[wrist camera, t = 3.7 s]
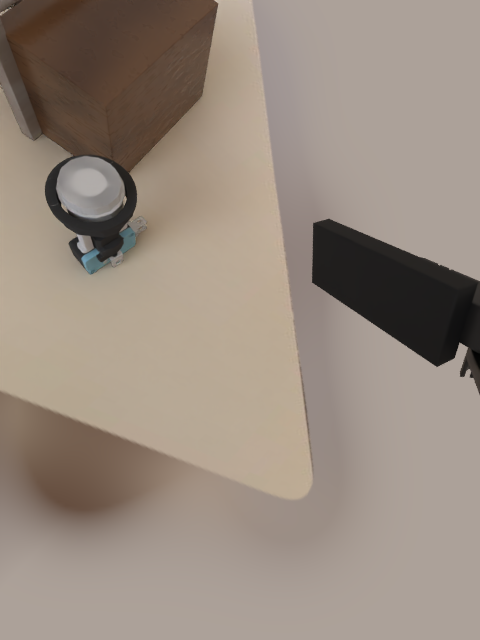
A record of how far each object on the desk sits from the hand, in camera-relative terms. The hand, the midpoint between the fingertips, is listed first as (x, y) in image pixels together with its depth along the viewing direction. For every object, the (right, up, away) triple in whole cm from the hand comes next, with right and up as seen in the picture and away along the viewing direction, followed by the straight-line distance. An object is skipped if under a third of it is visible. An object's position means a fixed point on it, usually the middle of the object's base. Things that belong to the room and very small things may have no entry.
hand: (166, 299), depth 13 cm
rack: (-8, +19, +21) cm, 30 cm away
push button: (-8, +5, +18) cm, 21 cm away
